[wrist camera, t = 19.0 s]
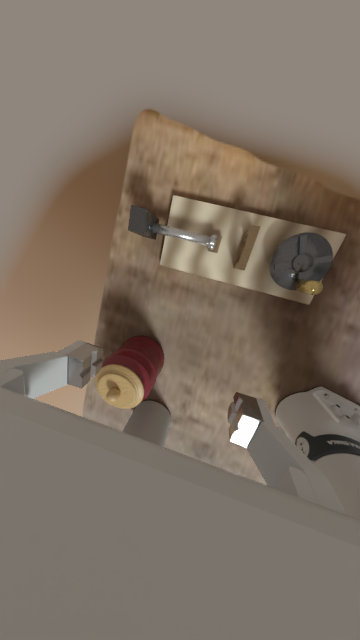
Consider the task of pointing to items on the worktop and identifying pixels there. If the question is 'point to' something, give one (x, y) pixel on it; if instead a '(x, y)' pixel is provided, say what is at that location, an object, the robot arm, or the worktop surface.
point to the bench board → (233, 245)
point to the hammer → (163, 228)
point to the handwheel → (301, 263)
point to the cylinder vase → (149, 422)
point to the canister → (130, 372)
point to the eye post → (246, 247)
